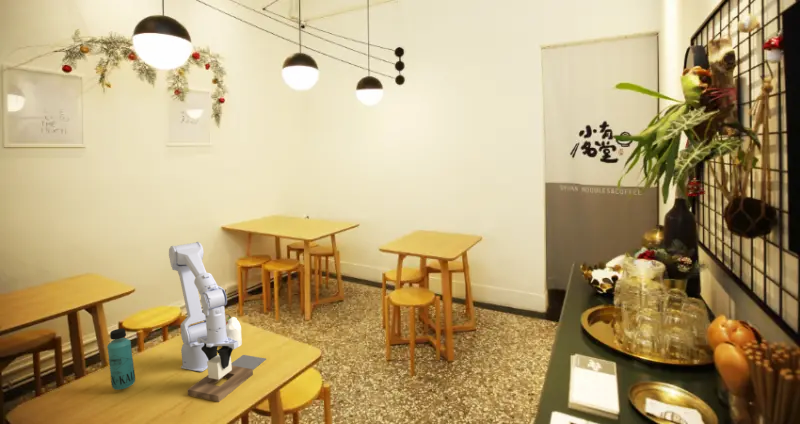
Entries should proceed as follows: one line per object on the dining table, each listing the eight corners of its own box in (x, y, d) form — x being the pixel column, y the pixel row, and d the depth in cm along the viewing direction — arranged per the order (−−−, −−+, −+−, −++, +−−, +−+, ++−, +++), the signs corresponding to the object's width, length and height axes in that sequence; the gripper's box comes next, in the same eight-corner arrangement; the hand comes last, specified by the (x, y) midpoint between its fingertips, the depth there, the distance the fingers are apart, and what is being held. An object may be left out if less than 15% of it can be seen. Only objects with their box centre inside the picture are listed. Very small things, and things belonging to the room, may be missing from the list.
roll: (233, 312, 164) (243, 314, 161) (235, 340, 166) (245, 343, 163) (220, 318, 158) (231, 320, 156) (223, 347, 160) (233, 350, 158)
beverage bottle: (114, 385, 135) (107, 328, 132) (138, 381, 137) (131, 324, 134) (109, 396, 129) (101, 336, 126) (134, 391, 132) (127, 332, 128)
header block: (187, 395, 129) (187, 389, 129) (224, 369, 144) (223, 364, 144) (219, 401, 125) (218, 395, 125) (252, 374, 140) (252, 369, 140)
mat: (228, 366, 146) (228, 365, 146) (243, 355, 153) (243, 354, 153) (251, 370, 143) (251, 369, 143) (266, 359, 150) (266, 358, 150)
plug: (208, 377, 132) (207, 361, 131) (222, 368, 137) (220, 352, 136) (218, 379, 130) (217, 363, 130) (231, 370, 136) (230, 354, 135)
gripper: (188, 328, 130) (192, 368, 132) (225, 334, 125) (229, 375, 127) (205, 320, 136) (208, 358, 138) (241, 325, 132) (244, 364, 134)
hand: (219, 366), depth 133 cm, fingers closed on plug, 4 cm apart
